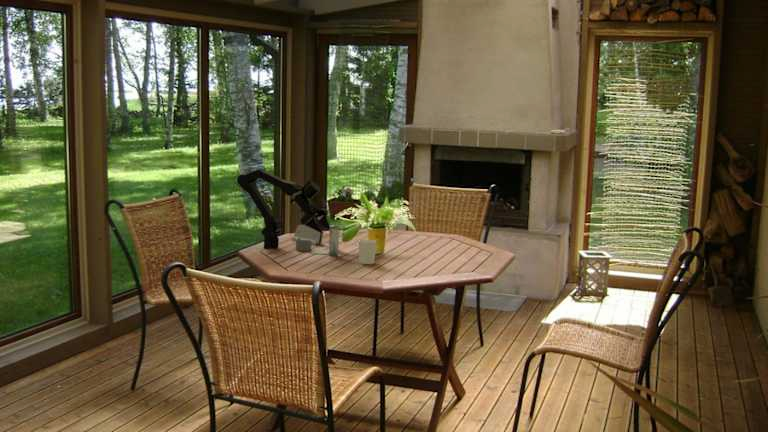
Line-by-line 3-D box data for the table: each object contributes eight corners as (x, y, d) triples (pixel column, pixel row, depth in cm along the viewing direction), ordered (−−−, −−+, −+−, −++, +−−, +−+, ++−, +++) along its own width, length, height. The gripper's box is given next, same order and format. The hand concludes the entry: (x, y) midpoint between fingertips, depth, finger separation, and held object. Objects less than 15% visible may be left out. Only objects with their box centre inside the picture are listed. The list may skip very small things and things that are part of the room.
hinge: (290, 240, 414) (295, 221, 415) (296, 242, 418) (301, 223, 419) (315, 245, 404) (320, 226, 405) (321, 248, 408) (326, 228, 409)
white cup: (378, 263, 371) (380, 241, 369) (365, 265, 366) (366, 243, 364) (367, 260, 377) (368, 238, 375) (354, 262, 371) (355, 240, 370)
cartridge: (328, 256, 380) (329, 226, 378) (328, 254, 385) (329, 224, 383) (338, 256, 381) (339, 226, 379) (337, 254, 385) (339, 225, 383)
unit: (296, 250, 390) (296, 238, 390) (295, 248, 395) (296, 237, 394) (310, 250, 391) (311, 239, 390) (310, 248, 396) (310, 237, 395)
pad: (311, 254, 384) (311, 253, 384) (310, 250, 392) (310, 249, 392) (328, 254, 385) (328, 253, 385) (327, 250, 393) (327, 250, 393)
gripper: (307, 195, 374) (328, 222, 371) (325, 191, 391) (345, 217, 388) (291, 211, 378) (312, 237, 375) (309, 206, 395) (330, 231, 392)
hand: (325, 230), depth 383 cm, fingers open, 9 cm apart
